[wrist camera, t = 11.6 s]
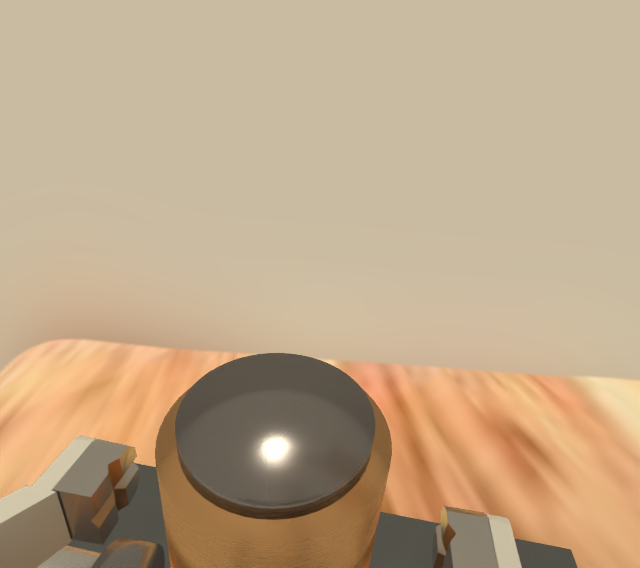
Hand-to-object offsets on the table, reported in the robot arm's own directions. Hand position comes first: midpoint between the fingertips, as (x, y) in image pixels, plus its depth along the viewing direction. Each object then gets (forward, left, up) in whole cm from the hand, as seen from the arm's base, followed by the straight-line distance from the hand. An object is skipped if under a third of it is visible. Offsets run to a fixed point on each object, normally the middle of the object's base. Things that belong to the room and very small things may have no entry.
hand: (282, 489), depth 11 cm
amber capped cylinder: (+1, +1, -8) cm, 9 cm away
